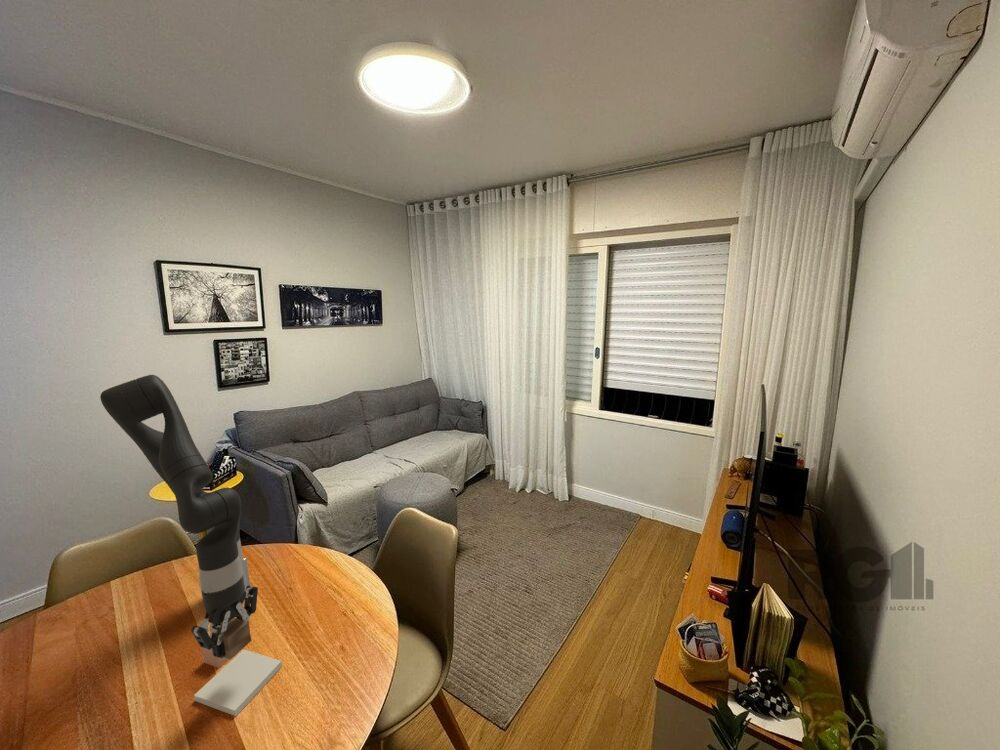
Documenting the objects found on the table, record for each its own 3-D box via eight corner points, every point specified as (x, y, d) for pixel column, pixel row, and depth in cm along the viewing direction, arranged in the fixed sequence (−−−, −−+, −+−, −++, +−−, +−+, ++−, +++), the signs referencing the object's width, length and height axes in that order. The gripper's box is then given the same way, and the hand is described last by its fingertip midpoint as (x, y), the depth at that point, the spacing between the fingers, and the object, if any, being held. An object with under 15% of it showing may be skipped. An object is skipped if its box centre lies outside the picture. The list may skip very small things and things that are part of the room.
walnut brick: (235, 635, 90) (232, 617, 89) (251, 640, 88) (248, 621, 87) (214, 653, 85) (210, 634, 84) (230, 659, 84) (227, 639, 83)
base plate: (244, 654, 96) (243, 649, 96) (282, 666, 92) (281, 660, 92) (194, 700, 85) (193, 695, 84) (235, 716, 81) (234, 710, 81)
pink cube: (224, 646, 98) (221, 629, 98) (238, 650, 97) (236, 633, 96) (204, 663, 94) (201, 645, 93) (219, 668, 92) (216, 650, 91)
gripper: (239, 555, 91) (248, 617, 94) (174, 598, 78) (187, 669, 81) (263, 561, 89) (272, 624, 92) (200, 606, 76) (213, 679, 79)
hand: (232, 645), depth 86 cm, fingers closed on walnut brick, 5 cm apart
